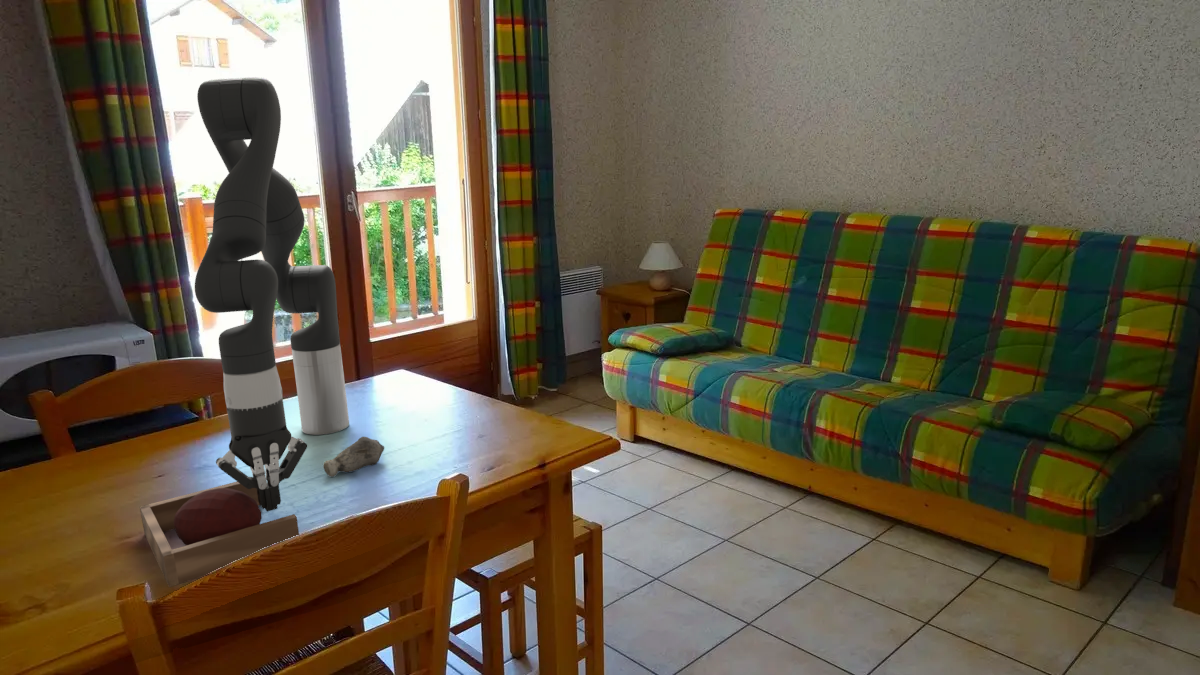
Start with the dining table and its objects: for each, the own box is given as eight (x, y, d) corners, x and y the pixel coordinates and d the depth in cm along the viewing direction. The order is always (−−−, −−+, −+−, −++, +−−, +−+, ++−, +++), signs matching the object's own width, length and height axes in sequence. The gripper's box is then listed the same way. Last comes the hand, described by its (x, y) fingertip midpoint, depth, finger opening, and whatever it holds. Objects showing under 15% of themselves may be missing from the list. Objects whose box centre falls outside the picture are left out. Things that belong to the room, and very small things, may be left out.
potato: (176, 540, 120) (167, 487, 118) (256, 520, 126) (249, 470, 124) (182, 573, 111) (172, 517, 109) (269, 550, 116) (261, 496, 114)
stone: (326, 485, 140) (355, 459, 138) (312, 459, 142) (341, 432, 139) (366, 479, 149) (394, 453, 147) (352, 454, 151) (380, 429, 148)
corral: (144, 534, 123) (139, 506, 121) (263, 501, 133) (259, 475, 131) (169, 587, 107) (163, 556, 106) (300, 545, 117) (296, 516, 116)
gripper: (292, 383, 124) (307, 488, 128) (199, 402, 116) (217, 513, 121) (308, 394, 118) (323, 504, 122) (211, 415, 111) (230, 531, 115)
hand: (270, 508), depth 122 cm, fingers closed
